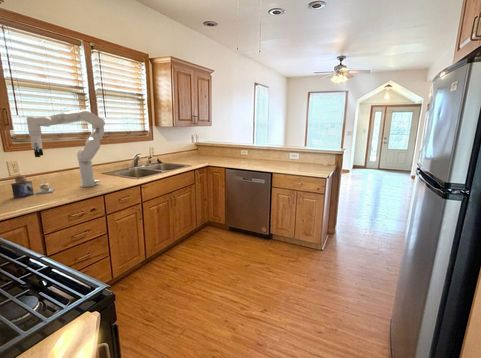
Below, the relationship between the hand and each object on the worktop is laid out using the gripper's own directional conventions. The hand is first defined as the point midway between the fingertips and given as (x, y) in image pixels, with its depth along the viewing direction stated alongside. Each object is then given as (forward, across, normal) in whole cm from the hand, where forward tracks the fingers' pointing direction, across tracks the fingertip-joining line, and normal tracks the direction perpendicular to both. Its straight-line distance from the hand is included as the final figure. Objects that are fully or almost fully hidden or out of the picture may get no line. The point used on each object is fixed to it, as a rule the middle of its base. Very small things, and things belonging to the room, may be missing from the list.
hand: (39, 156), depth 199 cm
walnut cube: (+18, +7, -12) cm, 23 cm away
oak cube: (+27, 0, 0) cm, 27 cm away
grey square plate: (+28, 0, 0) cm, 28 cm away
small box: (+29, +7, -12) cm, 32 cm away
